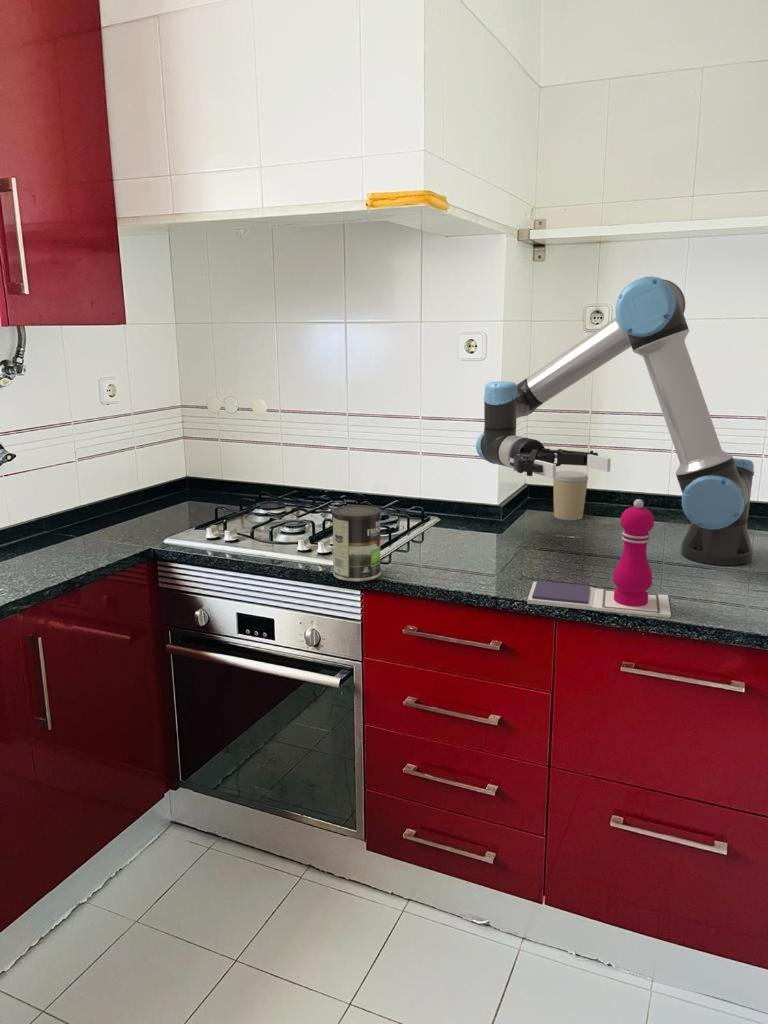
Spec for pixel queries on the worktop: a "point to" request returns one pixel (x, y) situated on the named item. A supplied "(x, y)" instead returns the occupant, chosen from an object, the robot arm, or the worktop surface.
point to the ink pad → (561, 595)
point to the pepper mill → (634, 557)
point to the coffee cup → (569, 494)
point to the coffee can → (356, 542)
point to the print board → (654, 607)
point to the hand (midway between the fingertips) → (582, 468)
